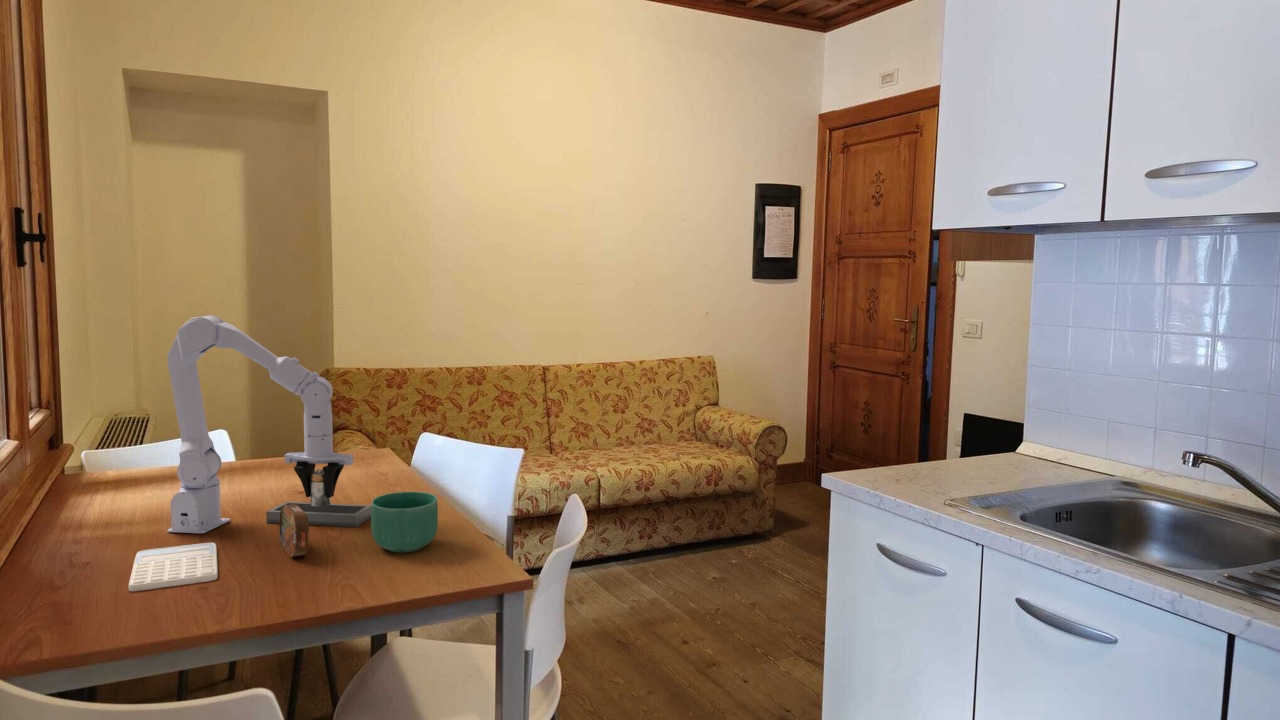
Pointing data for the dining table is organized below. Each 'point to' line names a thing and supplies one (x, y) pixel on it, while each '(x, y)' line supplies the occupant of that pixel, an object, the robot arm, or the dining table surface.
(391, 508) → the mug
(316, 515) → the trough
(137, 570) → the calculator
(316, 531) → the dining table surface
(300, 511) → the tin
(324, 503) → the cell
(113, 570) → the dining table surface
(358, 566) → the dining table surface
